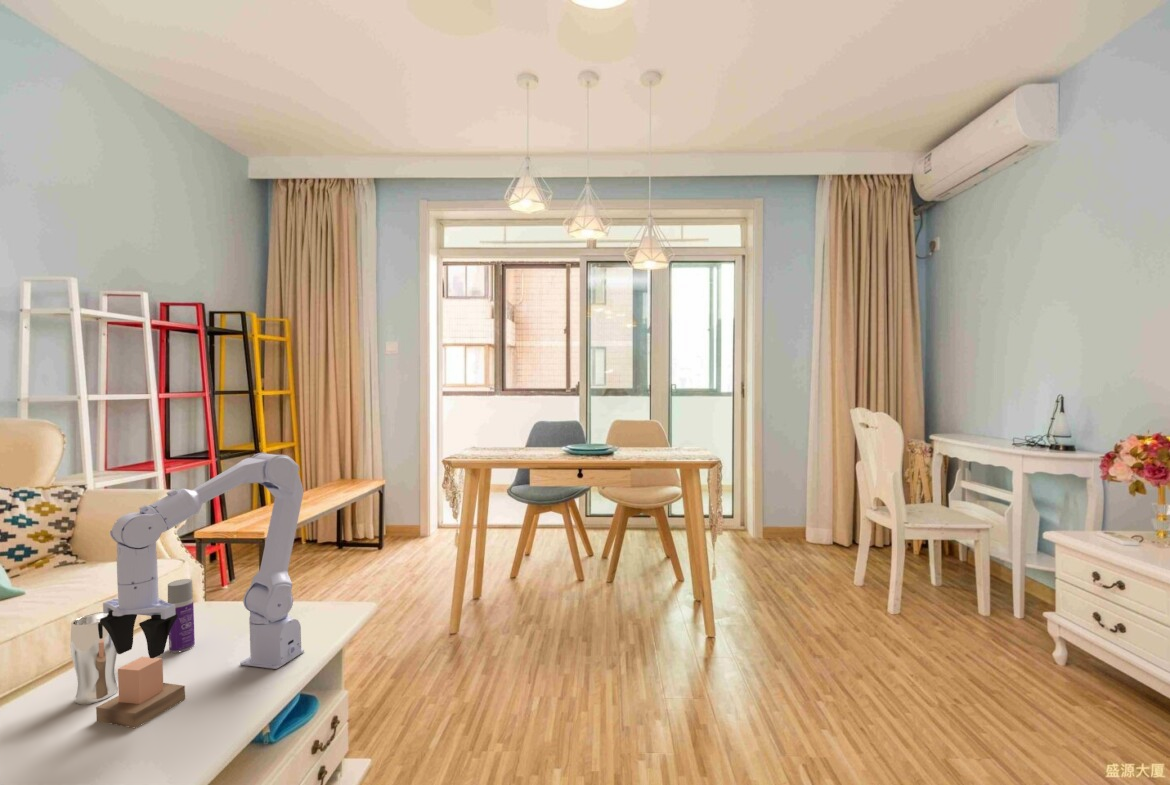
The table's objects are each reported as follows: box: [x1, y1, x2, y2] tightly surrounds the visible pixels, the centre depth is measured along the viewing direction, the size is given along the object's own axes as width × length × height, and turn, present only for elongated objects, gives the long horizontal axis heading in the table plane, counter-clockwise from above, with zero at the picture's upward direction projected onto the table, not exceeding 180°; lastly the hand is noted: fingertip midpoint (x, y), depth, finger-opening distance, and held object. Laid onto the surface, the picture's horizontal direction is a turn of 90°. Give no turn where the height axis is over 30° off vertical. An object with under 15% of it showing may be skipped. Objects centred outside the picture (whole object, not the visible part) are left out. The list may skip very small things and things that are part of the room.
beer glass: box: [69, 611, 119, 706], centre depth 106 cm, size 7×7×15 cm
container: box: [167, 578, 196, 653], centre depth 125 cm, size 5×5×15 cm
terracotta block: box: [117, 656, 164, 704], centre depth 101 cm, size 4×4×6 cm
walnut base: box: [95, 682, 186, 729], centre depth 101 cm, size 9×9×3 cm
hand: (140, 653), depth 101 cm, fingers open, 7 cm apart
